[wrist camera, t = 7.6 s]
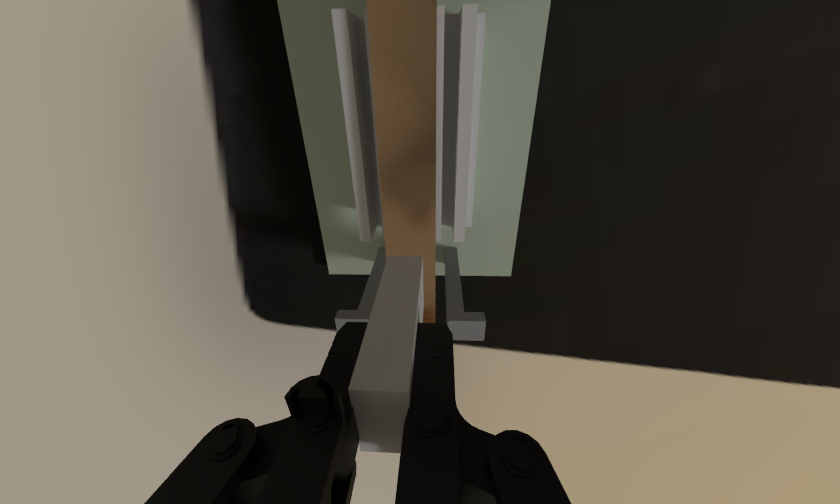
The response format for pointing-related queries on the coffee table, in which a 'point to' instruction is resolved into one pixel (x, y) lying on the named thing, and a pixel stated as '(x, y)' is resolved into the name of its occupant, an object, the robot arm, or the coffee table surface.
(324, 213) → the heatsink fixture
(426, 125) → the strap
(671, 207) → the coffee table surface
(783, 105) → the coffee table surface
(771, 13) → the coffee table surface
